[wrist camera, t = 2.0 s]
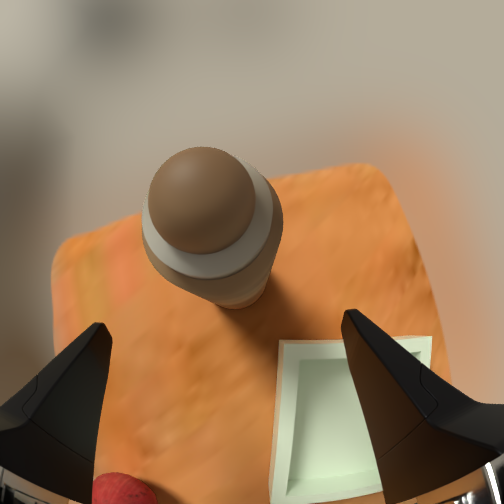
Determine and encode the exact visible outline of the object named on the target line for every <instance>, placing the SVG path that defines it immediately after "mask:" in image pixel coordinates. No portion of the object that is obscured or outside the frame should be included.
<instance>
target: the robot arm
mask: <svg viewBox="0 0 504 504" xmlns="http://www.w3.org/2000/svg"><path fill="white" fill-rule="evenodd" d="M341 332H342V337H343V342H344V347H345V351H346V356H347V361H348V366H349V370H350V373H351V376H352V379H353V382H354V386H355V389H356V392H357V395H358V399H359V402H360V405H361V408H362V412H363V415H364V419H365V422H366V426H367V429H368V433H369V436H370V440H371V444H372V448H373V451H374V455H375V459H376V464H377V468H378V472H379V476H380V480H381V484H382V489H383V493H384V498H385V502H386V504H396V503H399V502H403V501H406V500H409V499H412V498H415V497H416V499H417V503H415V504H504V404H485V403H480V402H477V401H474V400H473V399H471V398H469V397H468V396H467V395H465V394H464V393H462V392H461V391H459V390H458V389H456V388H455V387H453V386H452V385H450V384H449V383H447V382H446V381H445V380H443V379H442V378H440V377H439V376H438V375H437V374H435V373H434V372H433V371H432V370H430V369H429V368H428V367H427V366H425V365H424V364H423V363H421V361H419V360H418V359H417V358H416V357H415V356H413V355H412V354H411V353H410V352H409V351H407V350H406V349H405V348H404V347H403V346H401V345H400V344H399V343H398V342H396V341H395V340H394V339H393V338H392V337H390V336H389V335H388V334H387V333H386V332H384V331H383V330H382V329H381V328H379V327H378V326H377V325H376V324H374V323H373V322H372V321H371V320H370V319H368V318H367V317H366V316H365V315H363V314H362V313H361V312H360V311H358V310H357V309H348V310H345V312H344V315H343V320H342V324H341ZM111 349H112V337H111V335H110V333H109V331H108V329H107V327H106V325H105V324H104V323H99V322H95V323H93V324H92V325H91V326H90V327H88V328H87V329H86V330H85V331H84V332H83V333H82V334H81V335H79V336H78V337H77V338H76V339H75V340H74V341H73V342H72V343H70V344H69V345H68V346H67V347H66V348H65V349H64V350H63V351H62V352H61V353H59V354H58V355H57V356H56V357H55V358H54V359H53V360H52V361H51V362H50V363H49V364H48V365H46V366H45V367H44V368H43V369H42V370H41V371H40V372H39V373H38V375H36V376H35V377H34V378H33V379H32V380H31V381H30V382H28V384H26V385H25V386H24V387H23V388H22V389H21V390H20V391H18V392H17V393H16V394H15V395H14V396H13V397H11V398H10V399H9V400H8V401H6V402H5V403H4V404H3V405H2V406H0V504H68V502H69V499H70V500H73V501H76V502H79V503H82V504H92V489H93V474H94V461H95V452H96V443H97V436H98V429H99V422H100V416H101V410H102V404H103V399H104V394H105V389H106V384H107V379H108V373H109V365H110V357H111Z"/></svg>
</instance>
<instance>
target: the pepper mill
mask: <svg viewBox="0 0 504 504" xmlns="http://www.w3.org/2000/svg"><path fill="white" fill-rule="evenodd" d="M282 232H283V213H282V208H281V204H280V201H279V198H278V196H277V194H276V192H275V190H274V189H273V187H272V186H271V184H270V183H269V182H268V181H267V180H266V179H265V178H264V177H263V176H262V175H261V174H260V173H259V172H258V171H257V170H256V169H255V168H254V167H253V166H252V165H251V164H249V163H248V162H246V161H245V160H243V159H241V158H239V157H236V156H233V155H230V154H228V153H227V152H225V151H222V150H219V149H216V148H210V147H194V148H189V149H186V150H183V151H181V152H179V153H177V154H175V155H173V156H172V157H170V158H169V159H168V160H167V161H166V162H165V163H164V164H163V165H162V166H161V167H160V169H159V170H158V171H157V172H156V174H155V176H154V178H153V180H152V182H151V185H150V189H149V191H148V193H147V196H146V198H145V201H144V205H143V210H142V237H143V244H144V247H145V251H146V253H147V256H148V258H149V260H150V262H151V263H152V265H153V266H154V268H155V269H156V270H157V271H158V272H159V273H160V274H161V275H162V276H163V277H164V278H165V279H166V280H168V281H169V282H171V283H172V284H174V285H176V286H178V287H180V288H182V289H184V290H186V291H188V292H190V293H193V294H195V295H197V296H199V297H201V298H204V299H206V300H208V301H210V302H212V303H215V304H217V305H219V306H221V307H224V308H227V309H242V308H246V307H248V306H250V305H252V304H253V303H255V302H256V301H257V300H258V299H259V298H260V296H261V295H262V293H263V292H264V289H265V287H266V284H267V281H268V278H269V275H270V272H271V269H272V265H273V262H274V259H275V256H276V253H277V250H278V247H279V244H280V241H281V236H282Z"/></svg>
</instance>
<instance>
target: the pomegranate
mask: <svg viewBox="0 0 504 504" xmlns="http://www.w3.org/2000/svg"><path fill="white" fill-rule="evenodd" d="M92 504H158V502H157V499H156V496H155V494H154V492H153V491H152V490H151V489H150V488H149V487H148V486H147V485H146V484H145V483H143V482H142V481H140V480H139V479H137V478H134V477H132V476H130V475H128V474H123V473H115V472H112V473H106V474H102V475H100V476H98V477H97V478H96V479H95V480H94V481H93V489H92Z"/></svg>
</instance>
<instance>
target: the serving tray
mask: <svg viewBox="0 0 504 504" xmlns="http://www.w3.org/2000/svg"><path fill="white" fill-rule="evenodd" d="M392 338H393V339H394V340H395V341H396V342H398V343H399V344H400V345H401V346H403V347H404V348H405V349H406V350H407V351H409V352H410V353H411V354H412V355H413V356H415V357H416V358H417V359H418V360H419V361H421V363H423V364H424V365H425V366H427V367H428V368H429V369H430V360H431V345H432V336H410V335H408V336H396V337H392ZM268 484H269V496H270V504H310V503H320V502H328V501H335V500H342V499H348V498H353V497H358V496H363V495H368V494H372V493H376V492H380V491H383V489H382V484H381V480H380V476H379V472H378V468H377V464H376V459H375V455H374V451H373V448H372V444H371V440H370V436H369V433H368V429H367V426H366V422H365V419H364V415H363V412H362V408H361V405H360V402H359V399H358V395H357V392H356V389H355V386H354V382H353V379H352V376H351V373H350V370H349V366H348V361H347V356H346V351H345V347H344V342H343V339H341V340H279V350H278V368H277V385H276V400H275V414H274V427H273V439H272V450H271V461H270V472H269V482H268Z"/></svg>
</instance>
